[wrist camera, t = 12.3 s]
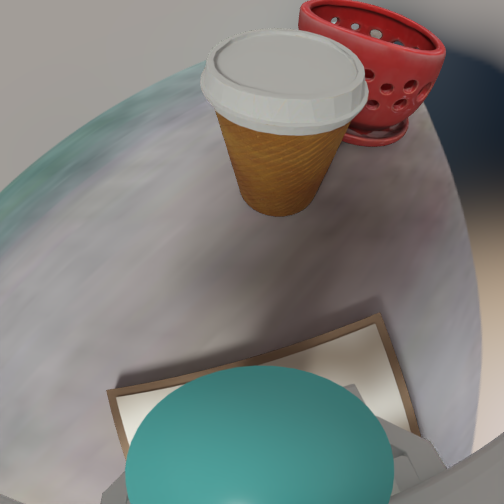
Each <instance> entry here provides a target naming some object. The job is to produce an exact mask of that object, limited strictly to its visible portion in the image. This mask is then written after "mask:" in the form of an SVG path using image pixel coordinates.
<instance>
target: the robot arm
mask: <svg viewBox="0 0 504 504" xmlns="http://www.w3.org/2000/svg"><path fill="white" fill-rule="evenodd" d="M343 387H344V388H345V389H347V390H348V391H350V392H351V393H352V394H354V395H355V396H357V397H358V398H359V399H360V400H361V401H362V402H363V403H364V404H365V402H364V400H363V398H362V396H361V395H360V393H359V391H358V389H357V387H356V385H354V384H350V385H347V386H343ZM365 405H366V404H365ZM376 418H377V419H378V420H379V422H380V424H381V425H382V427H383V429H384V431H385V432H386V435H387V437H388V440H389V443H390V445H391V449H392V454H393V459H394V482H393V489H392V493H391V497H390V500H389V503H388V504H504V432H503V433H502V434H501V435H500V436H498V437H497V438H495V439H494V440H492V441H491V442H490V443H488V444H487V445H485V446H484V447H482V448H481V449H479V450H478V451H476V452H475V453H473V454H471V455H470V456H468V457H467V458H465V459H463V460H462V461H460V462H458V463H457V464H455V465H453V466H452V467H450V468H448V469H447V468H446V467H445V465H444V463H443V461H442V460H441V458H440V457H439V455H438V453H437V452H436V450H435V448H434V447H433V445H432V443H431V442H430V441H428V440H426V439H424V438H421V437H419V436H417V435H415V434H413V433H411V432H409V431H407V430H404V429H402V428H400V427H398V426H396V425H394V424H392V423H390V422H388V421H386V420H384V419H382V418H380V417H378V416H376ZM0 504H24V503H21V502H19V501H16V500H14V499H11V498H9V497H7V496H4V495H2V494H0ZM100 504H130V501H129V498H128V493H127V488H126V478H125V471H124V472H123V473H122V475H121V476H120V477H119V478H118V479H117V480H116V481H115V482H114V483H113V484H112V485H111V486H110V487H109V488H108V489H107V490H106V491H105V492H103V493H102V498H101V503H100Z"/></svg>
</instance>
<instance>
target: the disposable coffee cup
mask: <svg viewBox="0 0 504 504" xmlns="http://www.w3.org/2000/svg"><path fill="white" fill-rule="evenodd" d="M200 84H201V89H202V92H203V94H204V95H205V97H206V99H207V100H208V101H209V102H210V103H211V105H212V106H213V107H214V109H215V110H216V111H215V112H216V115H217V117H218V121H219V124H220V127H221V131H222V134H223V137H224V138H225V139H224V140H225V143H226V147H227V150H228V153H229V156H230V160H231V162H232V166H233V169H234V172H235V176H236V179H237V182H238V186H239V189H240V193H241V195H242V197H243V199H244V200H245V202H246V203H247V204H248V205H249V206H250V207H252V208H253V209H254V210H256V211H258V212H260V213H263V214H265V215H269V216H275V217H278V216H288V215H293V214H295V213H298V212H300V211H302V210H303V209H305V208H306V207H307V206H308V205H309V204H310V203H311V201H312V200H313V198H314V196H315V194H316V192H317V190H318V188H319V186H320V184H321V182H322V180H323V178H324V176H325V174H326V172H327V170H328V168H329V166H330V164H331V162H332V160H333V158H334V156H335V154H336V151H337V149H338V147H339V145H340V143H341V141H342V139H343V137H344V135H345V133H346V131H347V129H348V126H349V124H350V122H351V120H352V119H353V118H354V117H355V116H356V115H357V114H358V113H359V112H360V111H361V110H362V109H363V107H364V106H365V104H366V103H367V99H368V93H369V90H368V86H367V83H366V81H365V71H364V66H363V64H362V63H361V61H360V60H359V58H358V57H357V56H356V55H355V54H354V53H353V52H352V51H351V50H349V49H348V48H347V47H345V46H343V45H342V44H340V43H339V42H336V41H334V40H332V39H330V38H327V37H324V36H322V35H318V34H315V33H311V32H307V31H301V30H294V29H282V28H272V29H259V30H251V31H247V32H243V33H240V34H236V35H233V36H231V37H229V38H227V39H225V40H223V41H221V42H220V43H218V44H217V45H216V46H215V47H214V48H212V50H211V51H210V53H209V54H208V57H207V60H206V67H205V68H204V70H203V72H202V74H201V79H200Z"/></svg>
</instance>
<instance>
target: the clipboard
mask: <svg viewBox="0 0 504 504" xmlns="http://www.w3.org/2000/svg"><path fill="white" fill-rule="evenodd" d="M245 366H279V367H287V368H294V369H298V370H302V371H306V372H310V373H313V374H316V375H318V376H321V377H324V378H326V379H329V380H331V381H333V382H334V383H336V384H338V385H340V386H342V387H343V386H347V385H350V384H354V385H356V387H357V389H358V391H359V393H360V395H361V396H362V398H363V400H364V402H365V404H366V406H367V407H368V408H369V409H370V410H371V411H372V412H373V414H374V415H375V416H378V417H380V418H382V419H384V420H386V421H388V422H390V423H392V424H394V425H396V426H398V427H400V428H402V429H404V430H407V431H409V432H411V433H413V434H415V435H417V436H419V437H421V435H420V431H419V427H418V424H417V420H416V417H415V413H414V410H413V406H412V403H411V400H410V396H409V393H408V390H407V387H406V384H405V380H404V377H403V374H402V371H401V368H400V365H399V362H398V360H397V357H396V354H395V351H394V348H393V345H392V343H391V340H390V337H389V334H388V332H387V329H386V326H385V324H384V321H383V319H382V316H381V313H380V312H379V313H377V314H374V315H372V316H369V317H367V318H364V319H362V320H359V321H357V322H354V323H352V324H349V325H346V326H344V327H341V328H339V329H336V330H333V331H330V332H328V333H325V334H322V335H319V336H316V337H314V338H311V339H308V340H305V341H302V342H299V343H296V344H293V345H290V346H287V347H284V348H281V349H277V350H274V351H271V352H268V353H264V354H261V355H258V356H254V357H251V358H248V359H244V360H241V361H237V362H233V363H230V364H226V365H222V366H218V367H215V368H211V369H207V370H203V371H199V372H195V373H190V374H186V375H182V376H177V377H173V378H168V379H164V380H159V381H154V382H149V383H144V384H139V385H133V386H128V387H122V388H116V389H110V390H106V391H107V395H108V399H109V404H110V408H111V412H112V415H113V419H114V423H115V427H116V430H117V434H118V437H119V440H120V444H121V447H122V450H123V453H124V456H125V459H126V460H127V454H128V451H129V447H130V444H131V441H132V439H133V437H134V435H135V433H136V431H137V429H138V427H139V425H140V424H141V423H142V421H143V420H144V418H145V417H146V415H147V414H148V413H149V412H150V411H151V410H152V409H153V408H154V407H155V406H156V404H157V403H159V402H160V401H161V400H162V399H164V398H165V397H166V396H167V395H168V394H170V393H171V392H173V391H174V390H176V389H178V388H179V387H181V386H183V385H184V384H186V383H188V382H190V381H193V380H195V379H197V378H199V377H201V376H205V375H208V374H211V373H214V372H217V371H221V370H226V369H231V368H236V367H245Z"/></svg>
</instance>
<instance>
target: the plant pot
mask: <svg viewBox="0 0 504 504" xmlns="http://www.w3.org/2000/svg"><path fill="white" fill-rule="evenodd" d="M334 17H336V18H337V22H336V23H335V24H333V23H331V20H332V18H334ZM354 23H356V24H358V25H359V28H358V29H357V30H353V29H352V28H351V25H352V24H354ZM298 28H299V30H301V31H307V32H311V33H315V34H318V35H322V36H324V37H327V38H330V39H332V40H334V41H336V42H339V43H340V44H342V45H343V46H345V47H347V48H348V49H349V50H351V51H352V52H353V53H354V54H355V55H356V56H357V57H358V58H359V60H360V61H361V63H362V64H363V66H364V71H365V81H366V83H367V86H368V90H369V93H368V99H367V103H366V104H365V106H364V107H363V109H362V110H361V111H360V112H359V113H358V114H357V115H356V116H355V117H354V118H353V119H352V120H351V122H350V124H349V126H348V129H347V131H346V133H345V135H344V137H343V139H342V141H343V142H347V143H350V144H354V145H359V146H368V147H377V146H385V145H388V144H392V143H394V142H396V141H398V140H399V139H401V138H402V137H403V136H404V134H405V133H406V131H407V129H408V124H409V121H408V117H409V116H410V115H411V114H413V113H414V112H415V111H416V110H417V109H418V108H419V106H420V105H421V104H422V103H423V101H424V100H425V98H426V97H427V95H428V94H429V92H430V91H431V88H432V87H433V85H434V83H435V81H436V79H437V77H438V75H439V72H440V70H441V67H442V64H443V61H444V58H445V55H446V49H445V47H444V45H443V44H442V42H441V41H440V40H439V39H438V38H437V37H436V36H435V35H434V34H432V33H431V32H430V31H429V30H427V29H426V28H424V27H423V26H421V25H419V24H418V23H416V22H414V21H412V20H410V19H408V18H406V17H404V16H402V15H400V14H398V13H395V12H392V11H390V10H387V9H384V8H381V7H378V6H375V5H371V4H367V3H362V2H358V1H352V0H310V1H307V2H305V3H303V4H302V6H301V7H300V13H299V23H298ZM373 29H376V30H379V31H380V32H381V33H382V37H381V38H380V39H377V38H374V37H371V35H370V32H371V30H373ZM395 41H399V42H401V43H402V44H403V45H404V46H400V45H396V44H393V43H394V42H395ZM416 48H418V49H419V50H418V49H416Z"/></svg>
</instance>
